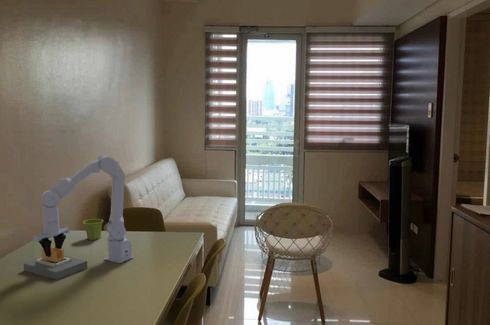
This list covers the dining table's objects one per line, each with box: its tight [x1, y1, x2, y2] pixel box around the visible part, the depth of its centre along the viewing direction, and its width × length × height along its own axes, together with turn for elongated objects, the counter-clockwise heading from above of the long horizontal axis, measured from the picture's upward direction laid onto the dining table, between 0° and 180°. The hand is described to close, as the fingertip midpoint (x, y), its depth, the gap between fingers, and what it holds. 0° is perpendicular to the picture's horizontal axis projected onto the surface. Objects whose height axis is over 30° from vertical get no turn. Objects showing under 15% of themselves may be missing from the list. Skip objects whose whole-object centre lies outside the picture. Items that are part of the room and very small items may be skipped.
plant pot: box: [82, 218, 104, 241], centre depth 215 cm, size 9×9×9 cm
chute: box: [41, 246, 65, 262], centre depth 173 cm, size 8×4×4 cm, turn 60°
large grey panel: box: [23, 255, 88, 281], centre depth 173 cm, size 20×14×4 cm
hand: (53, 254), depth 173 cm, fingers closed on chute, 4 cm apart
